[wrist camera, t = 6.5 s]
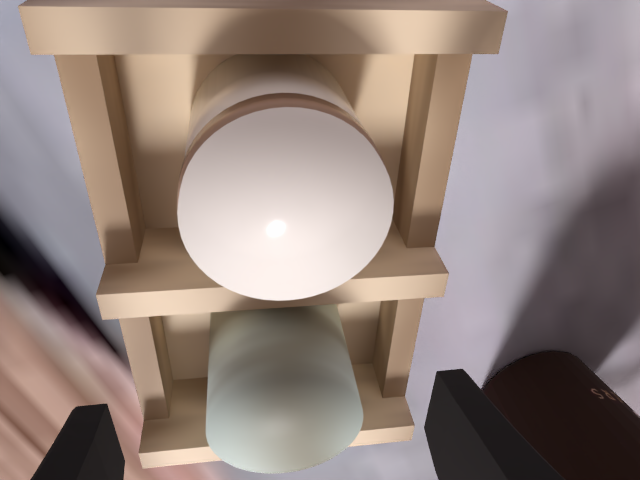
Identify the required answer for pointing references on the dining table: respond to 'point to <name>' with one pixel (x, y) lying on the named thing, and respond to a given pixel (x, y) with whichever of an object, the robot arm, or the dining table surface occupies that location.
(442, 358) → the dining table surface
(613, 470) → the coffee mug
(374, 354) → the rack
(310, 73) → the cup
